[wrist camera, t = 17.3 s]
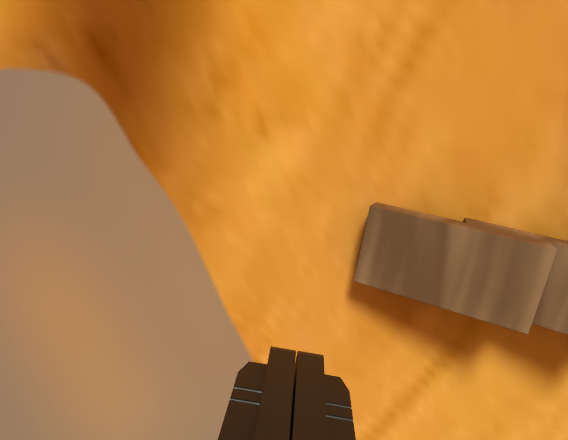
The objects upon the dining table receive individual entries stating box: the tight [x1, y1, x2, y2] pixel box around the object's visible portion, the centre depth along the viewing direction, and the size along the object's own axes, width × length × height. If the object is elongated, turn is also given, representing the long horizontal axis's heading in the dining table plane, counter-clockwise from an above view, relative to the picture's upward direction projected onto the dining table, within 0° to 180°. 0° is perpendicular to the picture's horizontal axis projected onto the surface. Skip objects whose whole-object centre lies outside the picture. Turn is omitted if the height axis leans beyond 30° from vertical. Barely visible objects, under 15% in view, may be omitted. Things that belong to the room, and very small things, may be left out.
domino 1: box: [354, 203, 557, 334], centre depth 24 cm, size 2×5×10 cm
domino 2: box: [464, 218, 568, 334], centre depth 24 cm, size 2×5×10 cm
